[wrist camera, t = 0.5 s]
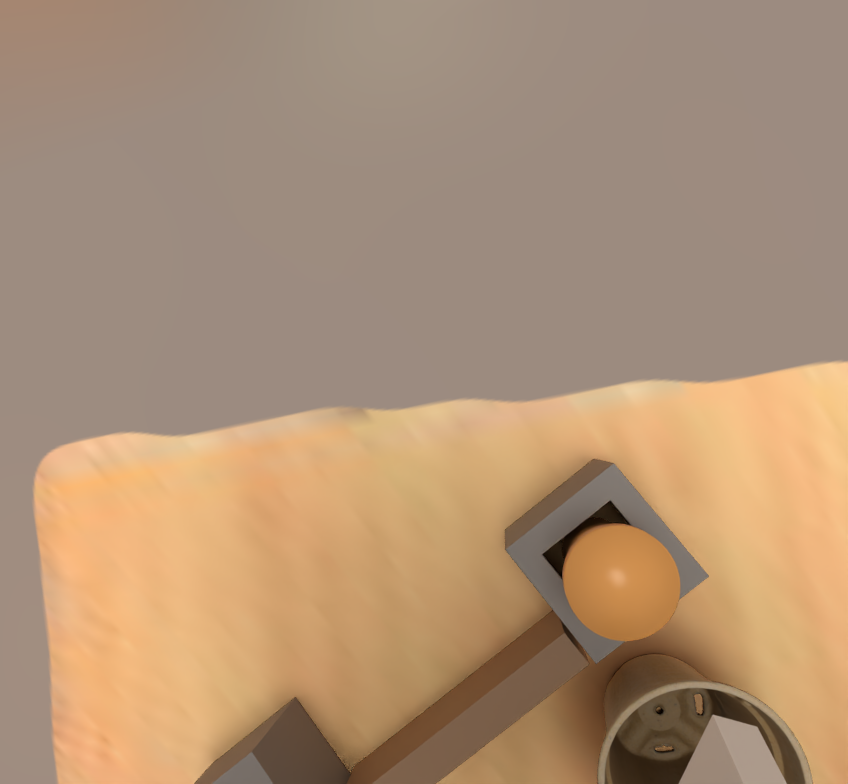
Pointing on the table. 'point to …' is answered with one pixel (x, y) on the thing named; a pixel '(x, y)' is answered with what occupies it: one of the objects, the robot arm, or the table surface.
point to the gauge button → (619, 579)
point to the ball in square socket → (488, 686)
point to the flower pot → (679, 723)
